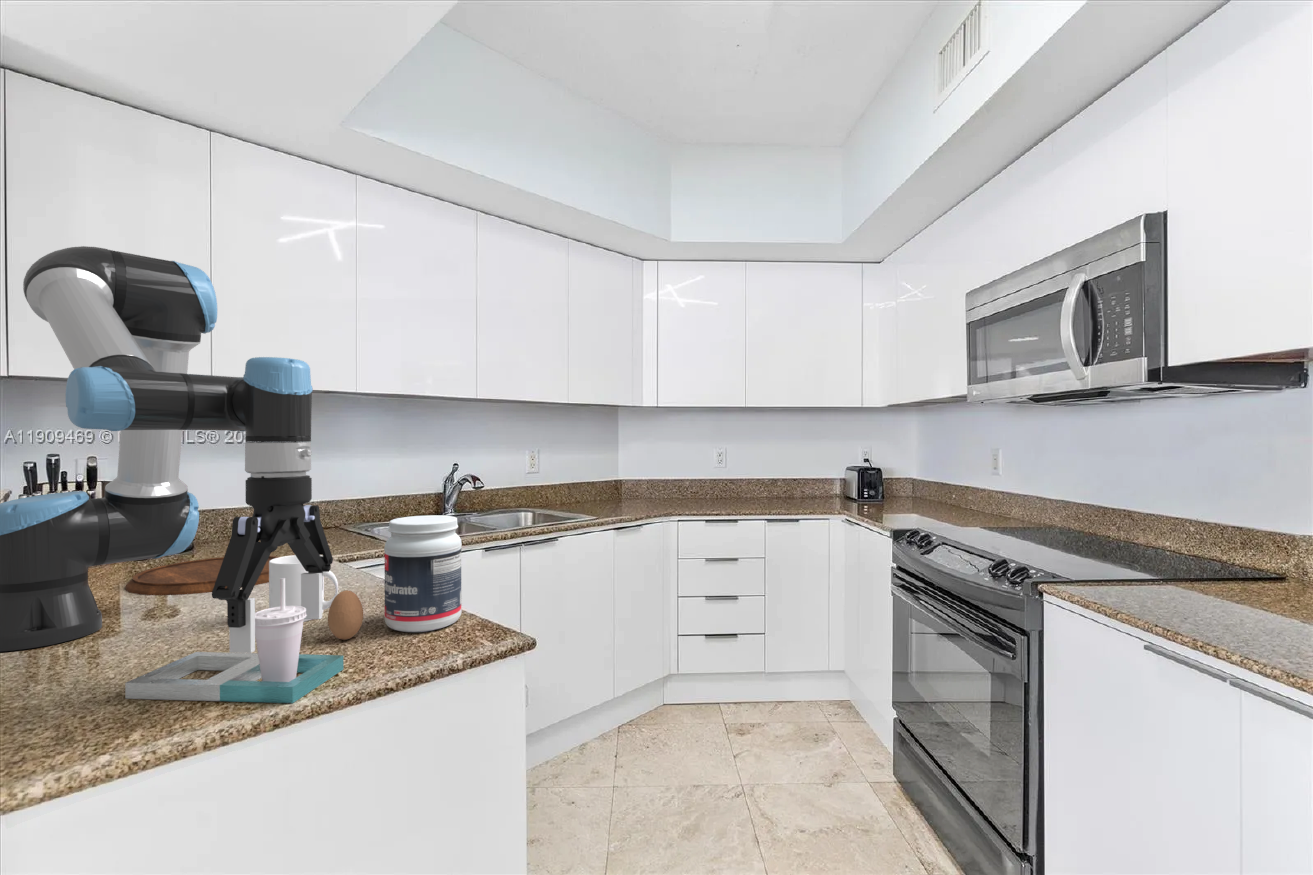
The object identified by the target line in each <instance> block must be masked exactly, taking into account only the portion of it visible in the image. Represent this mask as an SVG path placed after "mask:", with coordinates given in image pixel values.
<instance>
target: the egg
mask: <svg viewBox="0 0 1313 875" xmlns="http://www.w3.org/2000/svg"><path fill="white" fill-rule="evenodd" d="M363 622H364V608H363V605H362V602H361V600H360V598H359V596H358V595H357V594H356V593H355V592H354V591H353V590H352V591H351V590H348V589H347V590H342V591H341V592H338V595H337V596H336V597H335V598H334V600H333V602H332V604H331V606H330V607H329V608H328V614H327V624H328V625H327V626H328V628H329V631H330V632H331V633H332V635H333V636H334V637H335V638H337V639H339V640H343V641H344V640H349V639H351V638H353V637H354V636H356V635H357V633H358V632H359V631H360V629H361V627H362V625H363Z"/></svg>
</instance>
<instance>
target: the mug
mask: <svg viewBox="0 0 1313 875" xmlns="http://www.w3.org/2000/svg"><path fill="white" fill-rule="evenodd" d="M320 556H323V555H320ZM278 557H279V558H275V559H272V560H270V561H269V582H268V590H269V591H268V608H274V607H280V579H281V578H285V606H301V574H302V573H308V571H306V570H305V569H304V567H303V566H302V564H301V563H300V561H299V560H298V558H297V557H296V555H295V554H294V555H293V554H292V555H285V556H278ZM325 578H328V579H329V580H331V581H332V583H333V584H334V587H335V593H334V596H333V597H332V598H331V599H330V600H325V598H324V597H325V581H324V580H325ZM338 582H339V581H338V579H337V577H336V575H335V573H333V571H331V570H330V571H329V572H323V582H322V583H323V590H322V614H323V613H324V611H325V610H327V609H330V606H331V604H332V602H333V600H334V598H335V597H336V596H337V595H338V594H339V583H338ZM312 620H313V619H304V620H303V623H304V622H309V621H312Z"/></svg>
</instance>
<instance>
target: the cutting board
mask: <svg viewBox="0 0 1313 875" xmlns="http://www.w3.org/2000/svg"><path fill="white" fill-rule="evenodd" d="M279 557H280V556H276V555H275V556H274V555H270V556H269V558H268V560H267V562H266V564H265V566H264V568H263V570H262V572H261V574H260V576H259V578H258V580H257V582H256V584H255V586H259V585H262V584H268V583H269V561H270V560H272V559H275V558H279ZM223 559H224V556H221V557H210V558H202V559H201V558H200V559H195V560H194V559H193V560H188V561H181V562H176V563H171V564H170V563H169V564H164V565H160V566H156V567H152V568H148V569H145V570H143V571H139V572H138V573H135V574H134V575H133V576H132V579H130V580H129V581H128V582H127V583H126V584H125V590H126V591H127V592H128V593H131V594H136V595H141V596H142V595H143V596H180V595H181V596H182V595H183V596H184V595H195V594H207V593H212V591H213V588H214V585H215V582H216V579H217V576H218V573H219V570H220V568H221V565H222V562H223ZM225 588H227V586H225ZM240 589H242V587H241V588H240Z"/></svg>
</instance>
